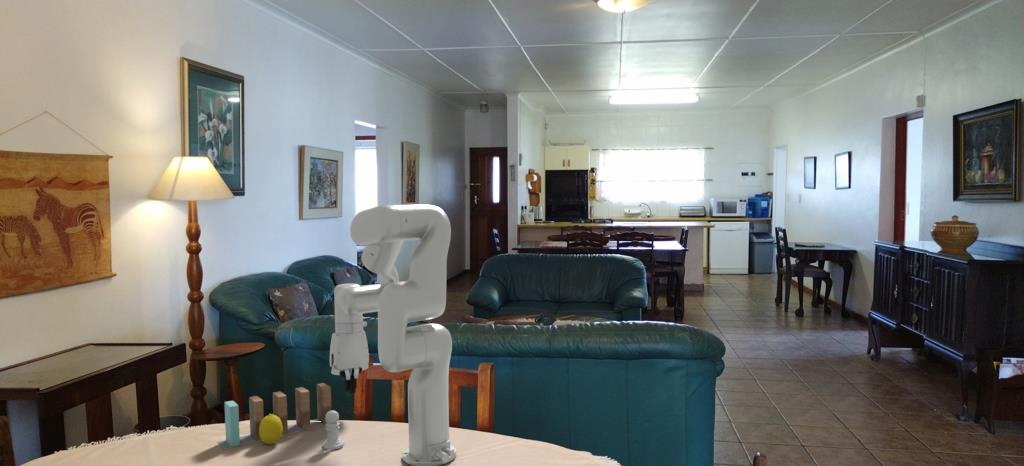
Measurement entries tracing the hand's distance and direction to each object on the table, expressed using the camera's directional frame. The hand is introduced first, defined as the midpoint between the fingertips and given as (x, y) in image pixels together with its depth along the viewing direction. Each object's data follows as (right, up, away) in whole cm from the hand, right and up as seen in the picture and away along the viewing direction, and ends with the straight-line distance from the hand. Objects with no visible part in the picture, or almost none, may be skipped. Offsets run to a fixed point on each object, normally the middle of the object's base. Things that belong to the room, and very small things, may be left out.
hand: (350, 392), depth 181 cm
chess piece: (+1, -8, -22) cm, 23 cm away
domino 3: (-11, -7, -8) cm, 15 cm away
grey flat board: (-16, -8, -12) cm, 22 cm away
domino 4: (-6, -7, -4) cm, 10 cm away
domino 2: (-15, -8, -12) cm, 21 cm away
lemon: (-15, -8, -20) cm, 27 cm away
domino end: (-25, -8, -19) cm, 32 cm away
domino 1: (-20, -8, -16) cm, 27 cm away
